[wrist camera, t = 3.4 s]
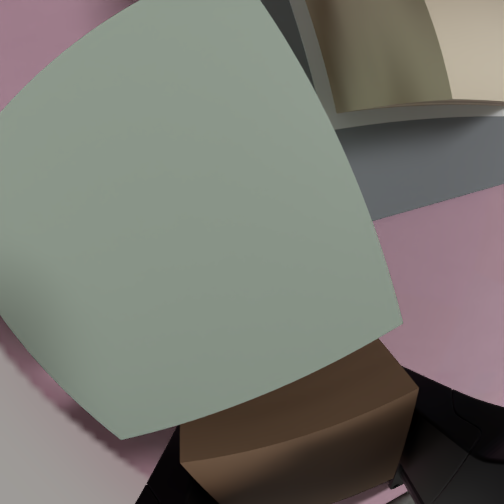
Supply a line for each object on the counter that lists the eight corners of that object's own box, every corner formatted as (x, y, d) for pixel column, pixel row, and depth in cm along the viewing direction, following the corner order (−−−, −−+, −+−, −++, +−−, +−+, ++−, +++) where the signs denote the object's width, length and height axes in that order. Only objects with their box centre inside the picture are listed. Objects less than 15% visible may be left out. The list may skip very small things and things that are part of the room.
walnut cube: (342, 386, 10) (393, 478, 6) (226, 420, 10) (243, 525, 6) (332, 285, 9) (418, 387, 5) (183, 328, 8) (180, 462, 4)
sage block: (310, 224, 8) (402, 323, 3) (160, 303, 8) (121, 440, 4) (225, 62, 6) (229, -40, 2) (69, 162, 6) (-63, 201, 2)
